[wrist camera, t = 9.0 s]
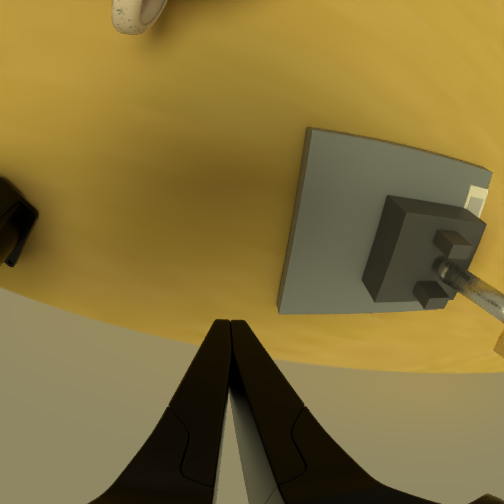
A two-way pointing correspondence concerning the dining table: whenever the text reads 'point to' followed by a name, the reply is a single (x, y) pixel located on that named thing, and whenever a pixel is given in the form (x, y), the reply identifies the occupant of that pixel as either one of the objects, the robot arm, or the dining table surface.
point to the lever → (475, 293)
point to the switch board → (378, 226)
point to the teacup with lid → (136, 15)
